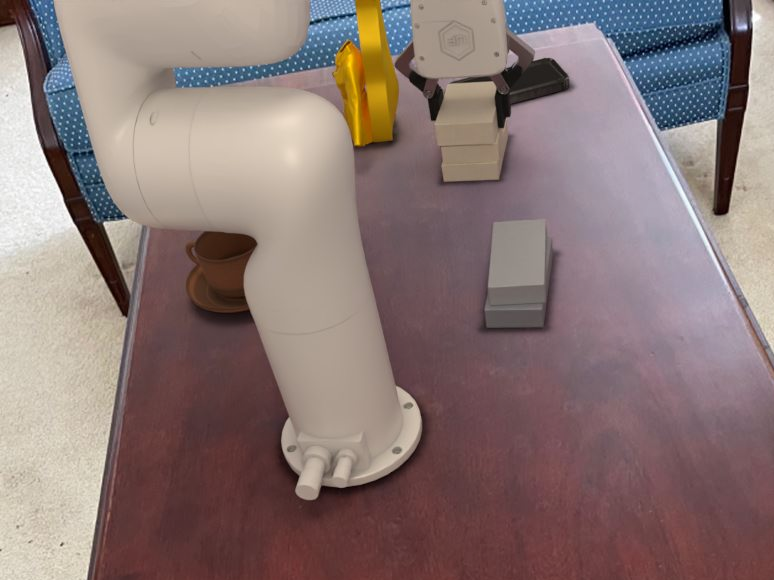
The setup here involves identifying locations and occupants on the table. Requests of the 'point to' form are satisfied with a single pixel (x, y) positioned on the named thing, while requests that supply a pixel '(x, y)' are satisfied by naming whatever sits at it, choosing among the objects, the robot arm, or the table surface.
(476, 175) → the cream stack
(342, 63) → the figure statuette
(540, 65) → the phone
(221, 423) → the table surface
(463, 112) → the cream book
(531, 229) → the grey stack
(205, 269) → the cup and saucer
